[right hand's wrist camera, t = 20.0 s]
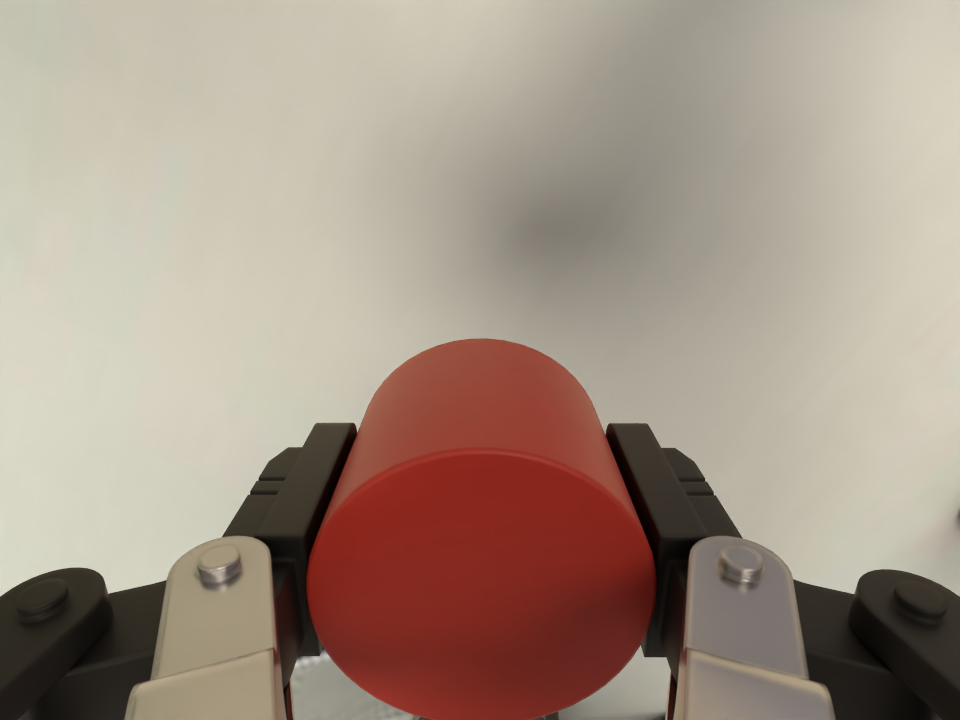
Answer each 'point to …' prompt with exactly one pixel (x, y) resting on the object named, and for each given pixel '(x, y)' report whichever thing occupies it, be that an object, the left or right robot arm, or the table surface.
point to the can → (481, 542)
